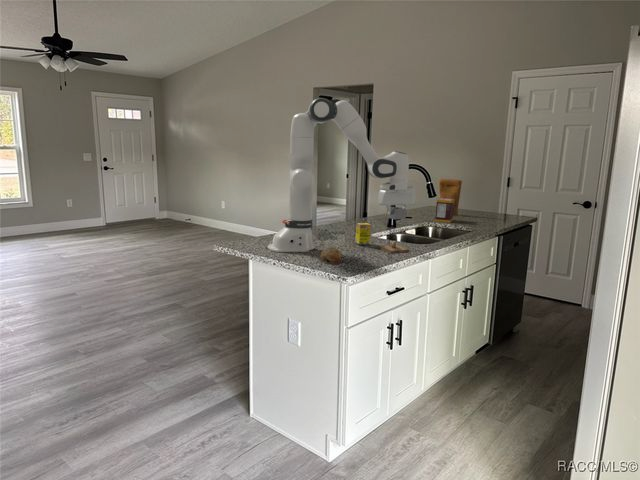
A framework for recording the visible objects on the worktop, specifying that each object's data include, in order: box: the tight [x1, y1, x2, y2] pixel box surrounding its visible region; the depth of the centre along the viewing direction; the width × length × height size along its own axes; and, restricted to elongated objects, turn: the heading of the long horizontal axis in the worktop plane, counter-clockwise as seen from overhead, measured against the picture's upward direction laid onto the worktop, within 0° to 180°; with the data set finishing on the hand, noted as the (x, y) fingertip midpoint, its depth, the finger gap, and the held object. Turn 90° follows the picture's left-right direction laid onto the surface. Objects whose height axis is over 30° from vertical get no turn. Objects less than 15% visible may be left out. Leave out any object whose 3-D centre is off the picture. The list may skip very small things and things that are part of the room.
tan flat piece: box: [378, 240, 410, 254], centre depth 229 cm, size 11×11×4 cm
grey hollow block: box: [386, 206, 407, 220], centre depth 225 cm, size 6×6×5 cm
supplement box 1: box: [355, 222, 372, 246], centre depth 239 cm, size 6×6×11 cm
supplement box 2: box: [434, 198, 455, 223], centre depth 331 cm, size 10×15×16 cm
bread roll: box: [319, 247, 343, 265], centre depth 202 cm, size 10×10×8 cm
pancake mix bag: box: [437, 178, 463, 217], centre depth 361 cm, size 7×19×28 cm, turn 44°
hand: (396, 214), depth 226 cm, fingers closed on grey hollow block, 6 cm apart
